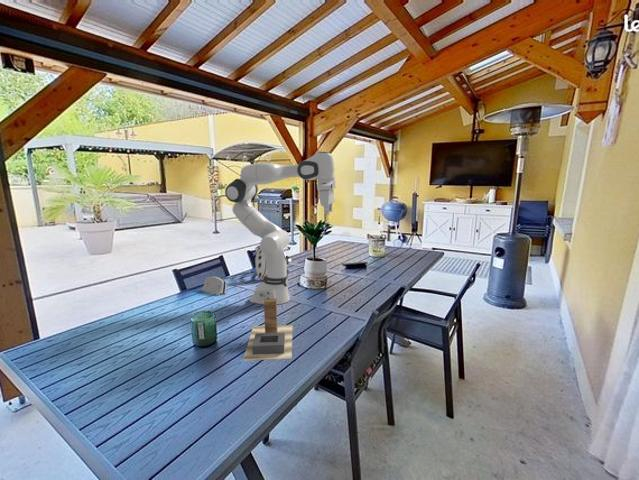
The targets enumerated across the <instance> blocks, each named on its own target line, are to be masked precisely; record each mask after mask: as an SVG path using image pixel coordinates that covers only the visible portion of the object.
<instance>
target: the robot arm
mask: <svg viewBox="0 0 639 480" xmlns="http://www.w3.org/2000/svg"><path fill="white" fill-rule="evenodd" d="M334 173H335V162H334V157H333V155H332V153H331V152H327V151H316V152H315V153H314V154H313V155H312V156H310V157H309V158H307V159H305V160H302V161H300V162H299V164H290V165H289V164H280V163H273V162H258V163H251V164H248V165H244V166H242V168H241V170H240V178H235V179H233V181H231V182H230V183H229V184H227V186H226V187H225V189H224V190H225V191H224V194H225V197H226V199H227V200H228V201H229V202H231V203H234V204H233V206H232V213H233V214H234V215H235V217H236V219H237V220H238V221H239V222H240V224H242V225H243V226H244V227H245V228H246V229H247V230H248V231H249V232H250V233H251V234H253V235H254V236H256V237H259V238H261V240H260V243H259V245H260V248H261V250H262V251H263V252H264V256H265V259H266V268H267V274H266V275H265V276H264V278H263V280H262V281H263V282H262V283H261V284H258V286H256V288H255V289H254V291H253V295H252V296H251V297H250V298H249V302H250V303H253V304H260V305H264V299H274V298H277V305H282V304H286V303H288V302H289V301H290V300H291V297H290V293H289V288H288V285H289V278H288V277H289V276H288V274H287V268H288V267H287V265H288V264H286V260H287V259H286V258H285V256H284V252H283V249H284V248H285V247H288V245H289V243H290V240H291V236H290V234H289V232H287V231H286V230H284V229H282V228H281V227H279V226H278V225H276V224H275V223H273V222H271V221H270V220H269V219H268V218H267V217H265V216H264V215H263V214H262V213H261V212H260V211H259V210H258V209H257V208H256V207H255V206H254V205H253V204H252V202H253V203H254V201H255V198H256V197H257V194H258V191H259V188H258V185H267V184H273V183H276V182H278V181H282V180H284V179H288V178H297V177H299V178H300V179H303V180H305V181H308V180H310V181H311V180H317V181H316V182H317V186H316V189H317V191H318V195H319V197H318V198H319V203H320V206H321V207H323V209H324V214H325V215H329V214H330V212H331V213H332V212H333V203H334V202H335V195H334V194H335V193H334V189H336V188H337V187H336V177H335V174H334Z"/></svg>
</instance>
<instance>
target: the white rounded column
mask: <svg viewBox="0 0 639 480" xmlns="http://www.w3.org/2000/svg"><path fill="white" fill-rule="evenodd" d="M254 249H255V258H254V259H253V263H254V265H255V266H254V267H255V272H254V274H255V275H257V277H258V279H259V281H264V280H263V278H264V276H265V275H266V274H267V268H266V259H265V256H264V252H263V251H262V250H261V248H260V244H259V245H257V246H256V247H255V248H254ZM290 250H291V247H290V246H286V247H285V248H284V249H283V253H284V252H287V251H290ZM284 258H285V260H286V264H287V265H289V264H290V262H292V258H290V257H289V256H288V255H286V256H284ZM289 273H290V270H289V269H288V267H287V275H289Z"/></svg>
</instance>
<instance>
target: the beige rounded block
mask: <svg viewBox="0 0 639 480" xmlns="http://www.w3.org/2000/svg"><path fill="white" fill-rule="evenodd" d="M227 286H228V282H227V280H225V279H223V278H221V277H219V276H207V277H206V278H205V280H204V284H203V286H202V287H201V290H202V291H201V292H204V291H205V292H204V293H207V292H209V293H208V294H211V293H213V294H212V295H214V294H216V295H215V296H218V295H220V296H221V294H224V293H225V294H226V293H227Z"/></svg>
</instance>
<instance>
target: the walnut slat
mask: <svg viewBox="0 0 639 480" xmlns="http://www.w3.org/2000/svg"><path fill="white" fill-rule="evenodd" d="M277 306H278V304H277V298H274V299H264V304H263V308H264V309H263V310H264V311H263V313H264V314H263V315H264V326H265V333H277V325H278V307H277Z"/></svg>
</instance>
